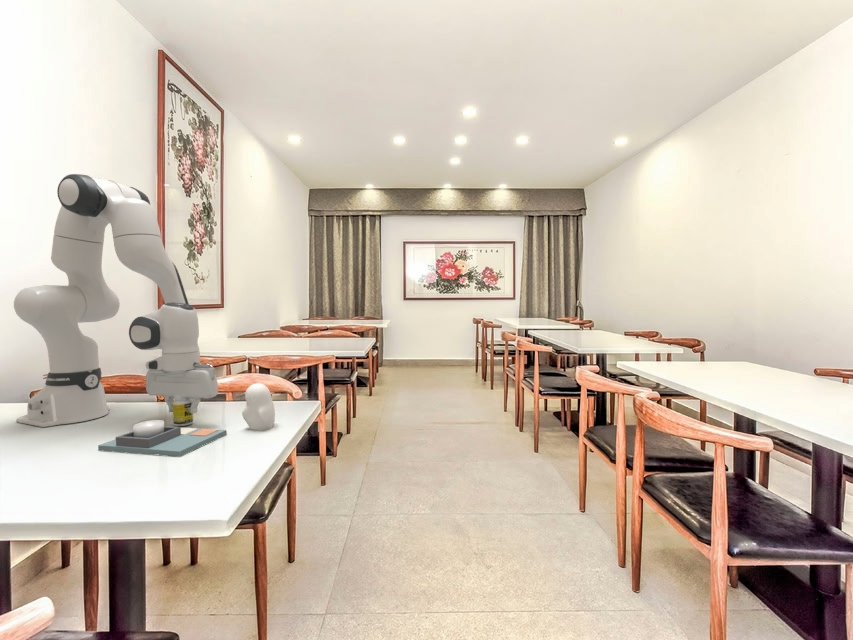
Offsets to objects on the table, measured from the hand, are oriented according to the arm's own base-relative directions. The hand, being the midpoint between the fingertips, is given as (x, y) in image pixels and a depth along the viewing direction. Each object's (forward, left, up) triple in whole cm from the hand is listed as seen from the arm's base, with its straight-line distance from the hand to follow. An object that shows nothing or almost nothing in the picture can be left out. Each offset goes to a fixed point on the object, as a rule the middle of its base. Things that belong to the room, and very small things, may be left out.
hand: (183, 412), depth 113 cm
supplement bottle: (0, 0, -3) cm, 3 cm away
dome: (+4, -15, -2) cm, 16 cm away
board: (+6, -13, -4) cm, 14 cm away
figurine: (+22, +2, -4) cm, 23 cm away
